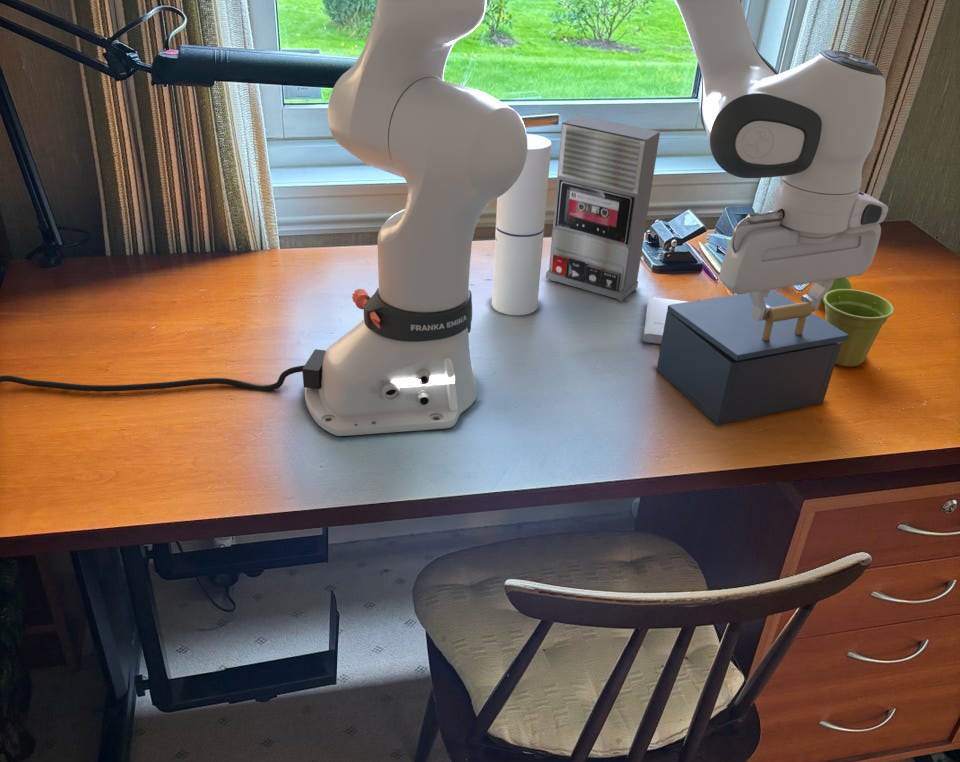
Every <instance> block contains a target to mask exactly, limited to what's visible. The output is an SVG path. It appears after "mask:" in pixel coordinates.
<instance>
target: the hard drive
mask: <svg viewBox="0 0 960 762" xmlns="http://www.w3.org/2000/svg"><path fill="white" fill-rule="evenodd" d="M685 302H689V301H688V300H687V301H686V300H679V299H671V298H664V297H663V298H662V297H654V296H649V297H648V299H647V304H646V311H645V321H644V329H643V337H642V341H643V342H644V343H647V344H655V345H656V344H657V345H661V342H662V336H663V331H664V325H665V320H666V314H667V311H668V310H667V309H668V305H672V304H678V303H685Z"/></svg>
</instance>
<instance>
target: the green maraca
mask: <svg viewBox="0 0 960 762" xmlns="http://www.w3.org/2000/svg"><path fill="white" fill-rule="evenodd" d="M837 289H852V285H851V282H850V280H849V279H848V277H846V278H840V279H834V282H833V285H832V287H831V288H830V289H829V291H828V292H830V291H832V290H837ZM819 305H820V306H822V307H824V308H825V303H824V297H823V298H822V299H820V303H819Z"/></svg>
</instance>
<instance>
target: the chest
mask: <svg viewBox="0 0 960 762" xmlns="http://www.w3.org/2000/svg"><path fill="white" fill-rule="evenodd" d="M841 344H842V343H841V342H837V343H831V344H826V345H820V346H815V347H810V348H804V349H799V350H793V351H788V352H782V353H777V354H771V355H766V356H761V357H755V358H750V359H744V360H739V361H736V360H734V359H733V358H732V357H730V356H729V355H728V354H726V353H725V352H724V351H722V350H721V349H719V348H718V347H717V346H715V345H714V344H713V343H711V342H710V341H709V340H707V339H706V338H704V337H703V336H702V335H700V334H699V333H698V332H696V331H695V330H693V329H692V328H691V327H689V326H688V325H687V324H685V323H684V322H683V321H681V320H680V319H678V318H677V317H676V316H674V315H673V314H672V313H670V312H669V311H667V314H666V320H665V325H664V331H663V336H662V342H661V344H660V348H659V353H658V359H657V363H656V370H657V371H658V372H659V373H660V374H661V375H662V376H663V377H664V378H666V379H667V381H669V382H670V383H671V384H672V385H673V386H674V387H675V388H676V389H677V390H679V391H680V392H681V393H682V394H683V395H684V396H685V397H686V398H687V399H688V400H689V401H690V402H692V403H693V405H694V406H696V407H697V408H698V409H699V410H700V411H701V412H702V413H704V415H706V416H707V417H708V419H710V420H711V421H712V422H713V423H714V424H715V425H723V424H728V423H733V422H737V421H742V420H747V419H752V418H756V417H762V416H766V415H771V414H775V413H780V412H784V411H785V412H786V411H791V410H794V409H800V408H804V407H809V406H814V405H819V404H823V403H824V401H825V398H826V395H827V392H828V390H829V389H828V388H829V385H830V382H831V379H832V376H833V372H834V370H835V366H836V360H837V357H838V354H839V351H840V347H841Z"/></svg>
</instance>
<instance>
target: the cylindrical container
mask: <svg viewBox="0 0 960 762" xmlns="http://www.w3.org/2000/svg"><path fill="white" fill-rule="evenodd" d="M526 134H527V156H526V161H525V164H524V167H523V170H522V172H521V174H520V176H519V177H518V179H517V180H516V182H515V183H514V184H513V186H512V187H511V188H510V189H509V190H508V191H507V192H505V193H504V194H503V195H501V196H500V197H498V198H496V199H497V200H496V217H495V234H494V235H495V236H494V253H493V272H492V273H493V274H492V289H491V290H492V291H491V307H492V308H493V309H494V310H495V311H497V312H499V313H501V314H505V315H508V316H525V315H529V314H533V313H534V312H535V311H536V310H537V309H538V304H539V303H538V302H539V293H540V292H539V291H540V279H541V267H542V257H543V247H544V246H543V245H544V235H545V225H546V224H545V223H546V211H547V200H548V187H549V175H550V165H551V153H552V141H551V140H550V138H547V137H546V136H542V135H537V134H532V133H526Z"/></svg>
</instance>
